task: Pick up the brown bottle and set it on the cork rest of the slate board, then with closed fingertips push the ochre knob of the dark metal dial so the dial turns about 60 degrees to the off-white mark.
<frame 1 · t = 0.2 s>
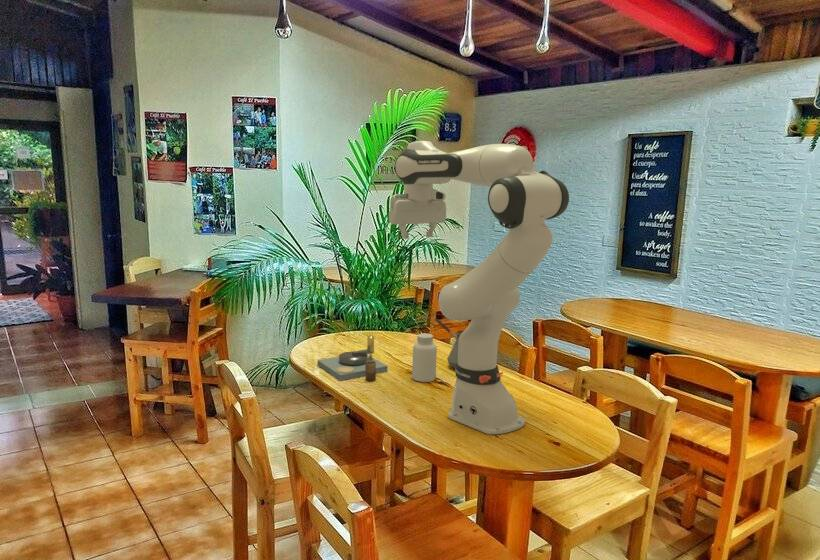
hand: (417, 237, 181), 47 cm above the table, fingers open, 8 cm apart
dial: (357, 349, 200), point 6 cm above the table, hinge at 0.0°
coffee pot: (453, 364, 206), on the table
pill bottle: (423, 379, 190), on the table
board: (352, 368, 199), on the table
brown bottle: (370, 379, 188), on the table
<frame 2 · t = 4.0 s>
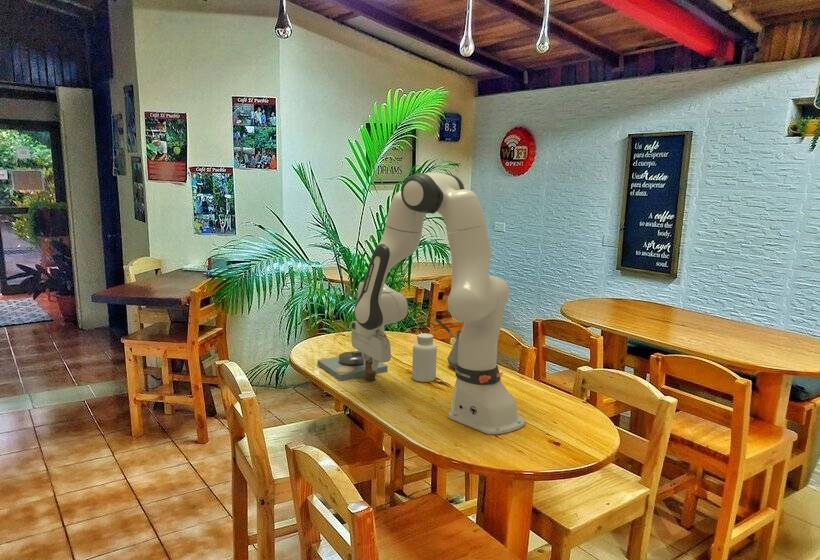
hand: (370, 367, 187), 4 cm above the table, fingers closed on brown bottle, 3 cm apart
brown bottle: (370, 379, 188), on the table, touching gripper
everything else where it was.
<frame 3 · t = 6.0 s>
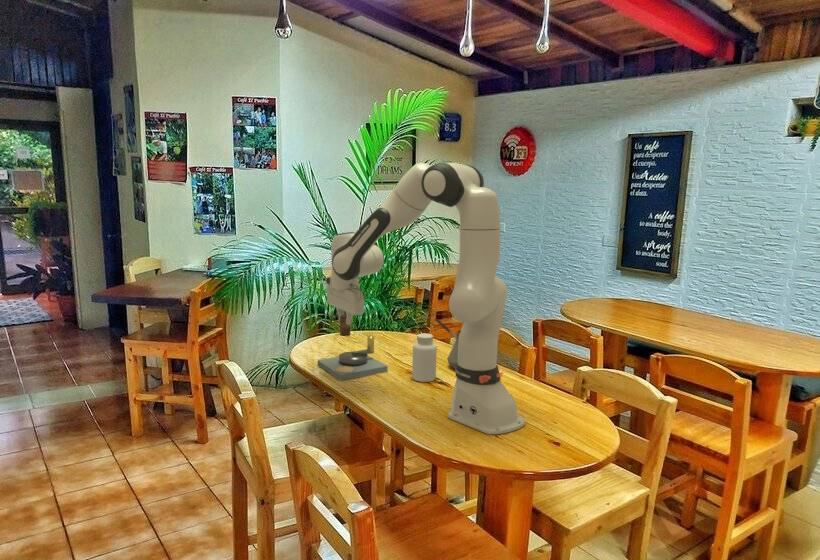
hand: (345, 322, 188), 18 cm above the table, fingers closed on brown bottle, 3 cm apart
brown bottle: (345, 334, 189), point 14 cm above the table, touching gripper
everything else where it was.
when the fingers open (7 cm above the table, at t = 8.2 s): brown bottle stays where it is, resting on board.
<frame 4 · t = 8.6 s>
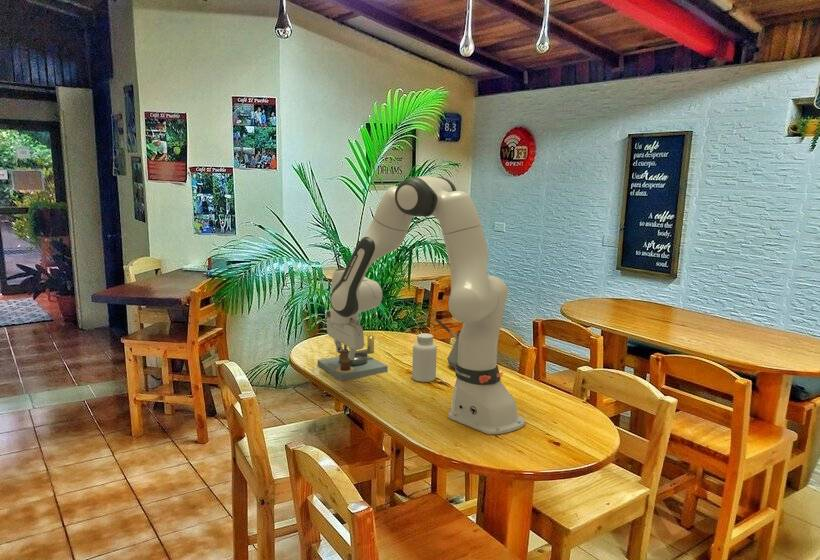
hand: (345, 355, 190), 7 cm above the table, fingers open, 7 cm apart
brown bottle: (345, 369, 191), point 2 cm above the table, touching board
everything else where it was.
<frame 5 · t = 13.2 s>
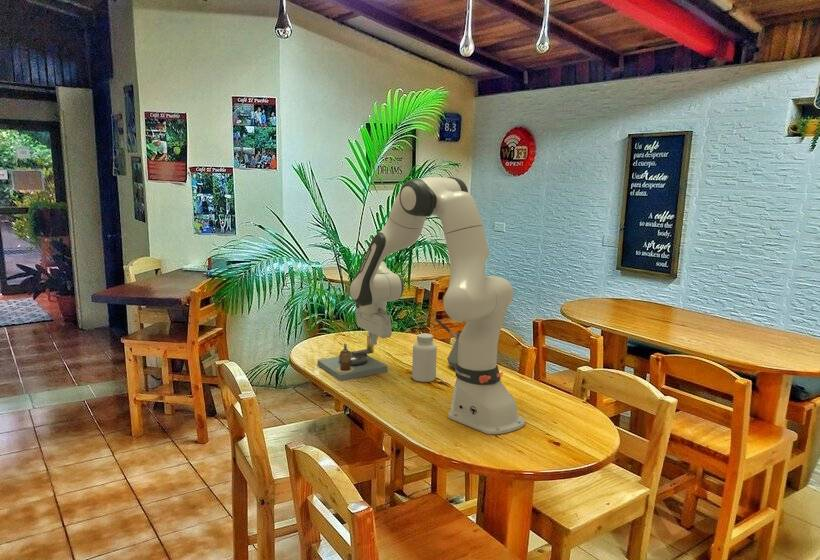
hand: (373, 344, 201), 8 cm above the table, fingers closed, pressing on dial
dial: (357, 349, 200), point 6 cm above the table, hinge at 2.6°, touching gripper
everything else where it was.
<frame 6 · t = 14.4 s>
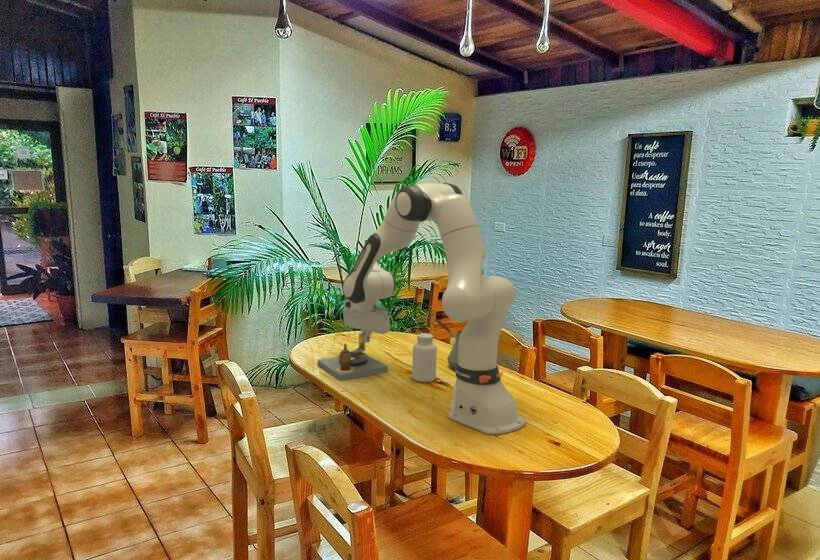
hand: (366, 341, 204), 8 cm above the table, fingers closed, pressing on dial
dial: (355, 349, 200), point 6 cm above the table, hinge at 35.3°, touching gripper
everything else where it was.
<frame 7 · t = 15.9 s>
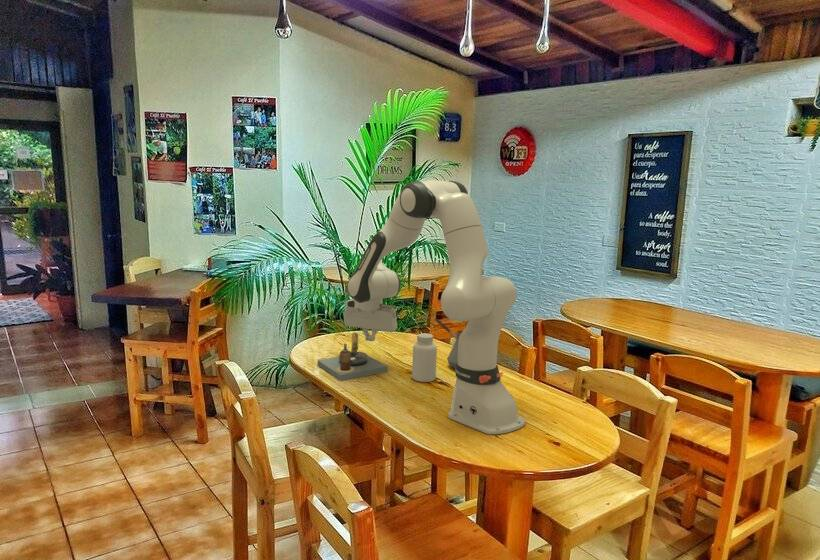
hand: (370, 340, 204), 8 cm above the table, fingers closed
dial: (353, 348, 200), point 6 cm above the table, hinge at 57.1°
everything else where it was.
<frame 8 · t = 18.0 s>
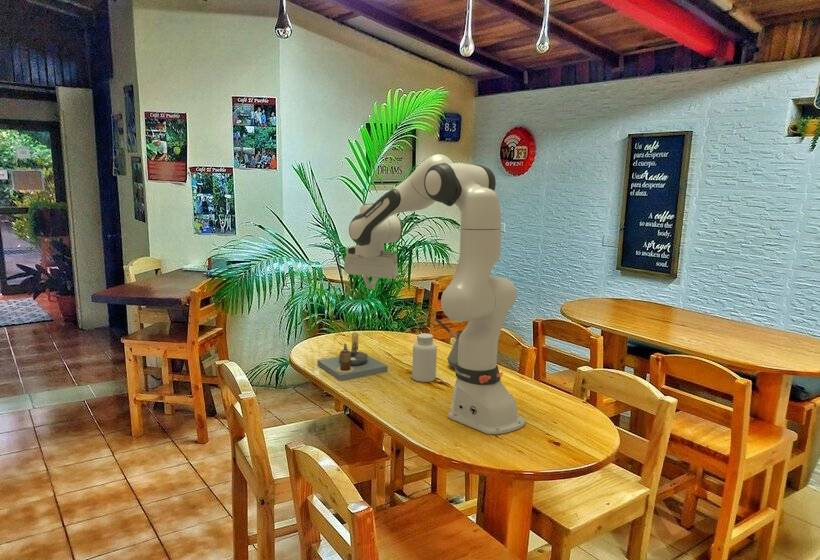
hand: (370, 288, 201), 27 cm above the table, fingers closed
nothing on the table moved.
at the end: dial at +57° (first picture: +0°); brown bottle 0.1 cm from the target spot on the board, point 2.4 cm above the board's base; brown bottle tilted 0° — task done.
